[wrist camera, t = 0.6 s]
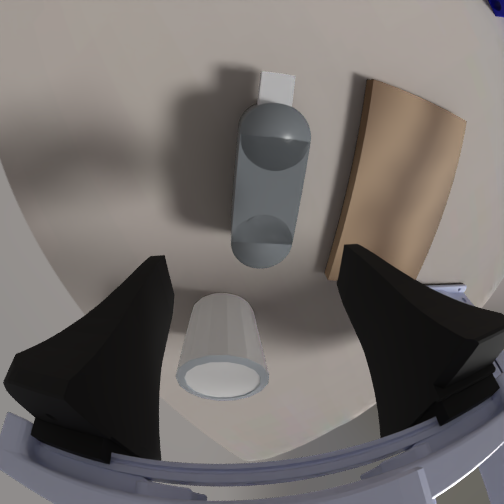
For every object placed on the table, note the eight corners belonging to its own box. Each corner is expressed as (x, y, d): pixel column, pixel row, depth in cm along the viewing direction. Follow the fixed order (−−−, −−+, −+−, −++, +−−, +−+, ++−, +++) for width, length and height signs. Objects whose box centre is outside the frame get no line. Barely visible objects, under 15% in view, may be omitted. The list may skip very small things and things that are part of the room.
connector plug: (300, 81, 14) (319, 76, 11) (277, 237, 20) (286, 269, 17) (244, 73, 14) (247, 65, 10) (229, 235, 20) (229, 267, 16)
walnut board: (458, 119, 15) (466, 121, 14) (410, 274, 23) (415, 280, 22) (366, 79, 14) (373, 79, 13) (324, 272, 22) (327, 280, 21)
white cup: (217, 348, 26) (216, 408, 20) (169, 309, 23) (156, 375, 17) (274, 320, 25) (286, 384, 19) (230, 273, 21) (231, 343, 15)
